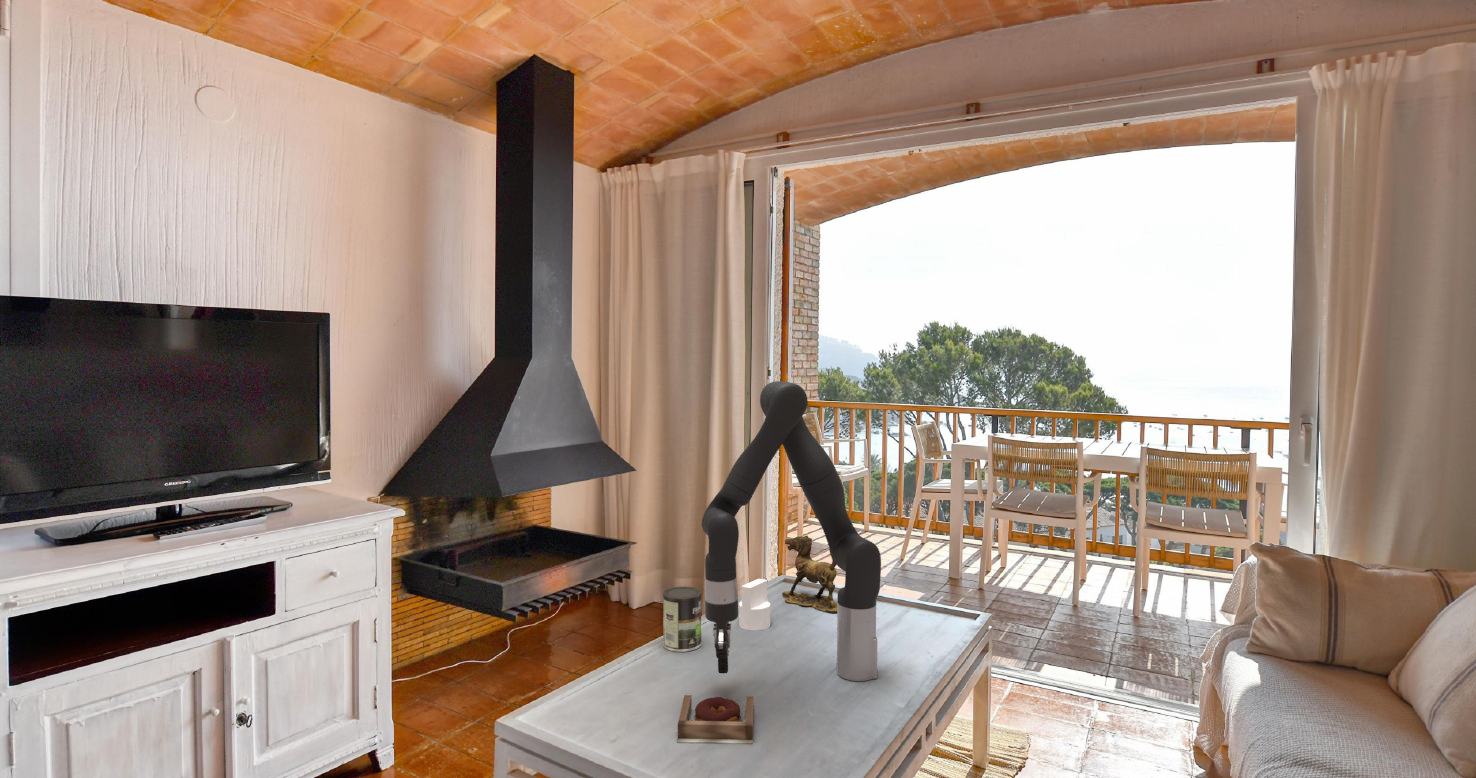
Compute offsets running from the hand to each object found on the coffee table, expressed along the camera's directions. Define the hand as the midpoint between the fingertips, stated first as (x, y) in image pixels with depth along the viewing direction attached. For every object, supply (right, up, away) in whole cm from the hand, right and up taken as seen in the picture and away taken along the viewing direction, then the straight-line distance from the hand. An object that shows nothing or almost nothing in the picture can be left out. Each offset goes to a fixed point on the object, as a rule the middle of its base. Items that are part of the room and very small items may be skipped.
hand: (723, 671), depth 166 cm
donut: (-1, -6, -12) cm, 14 cm away
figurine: (+27, -2, +60) cm, 66 cm away
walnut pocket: (-1, -6, -13) cm, 14 cm away
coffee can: (-11, -4, +28) cm, 31 cm away
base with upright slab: (+8, -3, +42) cm, 43 cm away
